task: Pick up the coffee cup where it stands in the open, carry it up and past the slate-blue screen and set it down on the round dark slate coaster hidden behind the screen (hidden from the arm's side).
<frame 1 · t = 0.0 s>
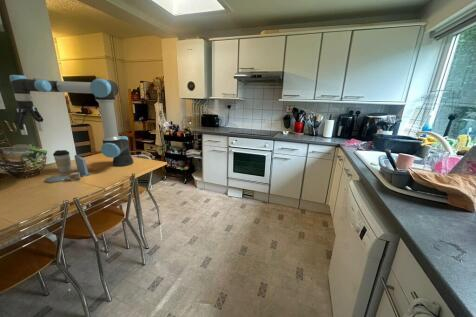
hand: (33, 132, 136), 28 cm above the table, fingers open, 13 cm apart
screen: (83, 173, 143), on the table
coffee cup: (65, 170, 147), on the table
letter block: (76, 179, 132), on the table
coaster: (57, 179, 132), on the table
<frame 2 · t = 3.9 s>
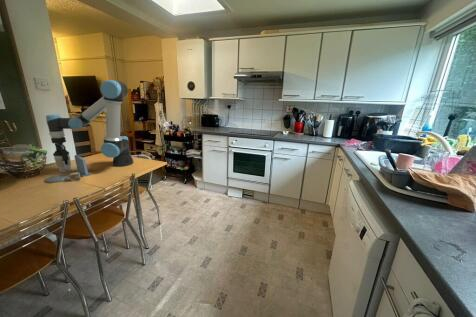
hand: (65, 167, 146), 2 cm above the table, fingers closed on coffee cup, 9 cm apart
coffee cup: (65, 170, 147), on the table, touching gripper
everything else where it was.
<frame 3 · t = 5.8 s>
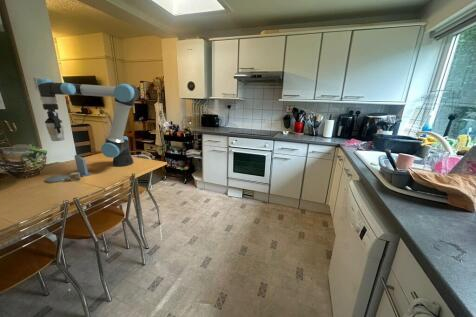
hand: (58, 136, 140), 25 cm above the table, fingers closed on coffee cup, 9 cm apart
coffee cup: (58, 140, 140), point 23 cm above the table, touching gripper
everything else where it was.
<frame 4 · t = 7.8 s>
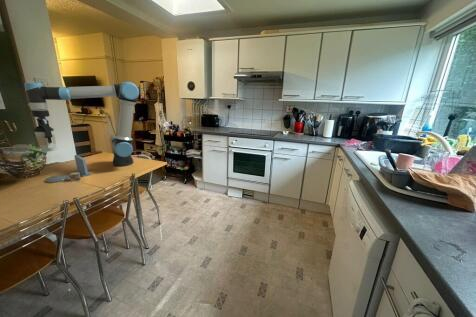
hand: (49, 146, 125), 22 cm above the table, fingers closed on coffee cup, 9 cm apart
coffee cup: (49, 150, 126), point 20 cm above the table, touching gripper
everything else where it was.
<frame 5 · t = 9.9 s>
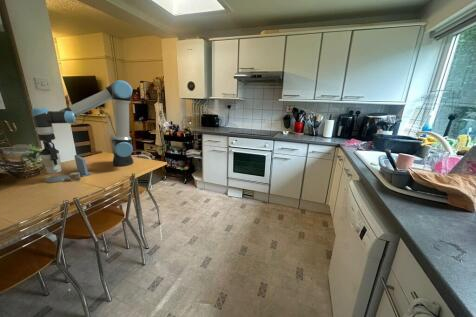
hand: (54, 167, 130), 8 cm above the table, fingers closed on coffee cup, 9 cm apart
coffee cup: (54, 171, 130), point 6 cm above the table, touching gripper
everything else where it was.
when the fingers open (4 cm above the table, at t = 11.7 s): coffee cup drops 1 cm, resting on coaster.
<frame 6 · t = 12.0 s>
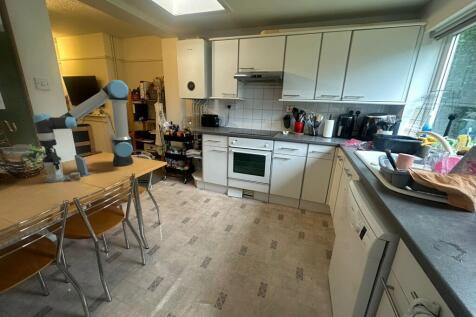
hand: (55, 171, 131), 5 cm above the table, fingers open, 11 cm apart
coffee cup: (56, 178, 132), point 1 cm above the table, touching coaster
everything else where it was.
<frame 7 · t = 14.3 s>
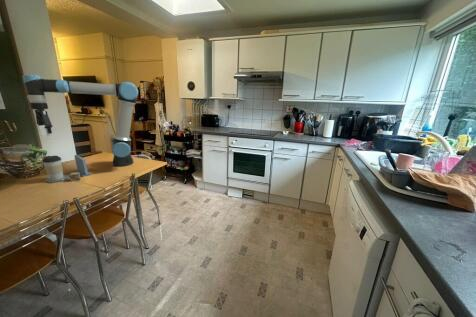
hand: (47, 136, 126), 28 cm above the table, fingers open, 13 cm apart
nothing on the table moved.
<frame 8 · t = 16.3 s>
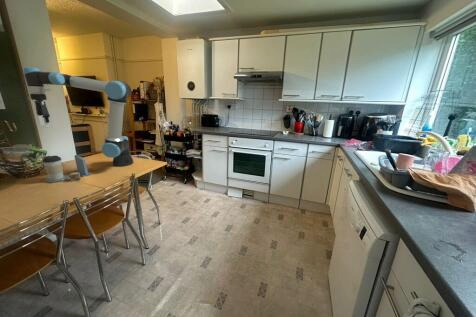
hand: (45, 126, 136), 33 cm above the table, fingers open, 13 cm apart
nothing on the table moved.
at the end: coffee cup 0.4 cm from the coaster (horizontally); coffee cup tilted 0°; the gripper is holding nothing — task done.
